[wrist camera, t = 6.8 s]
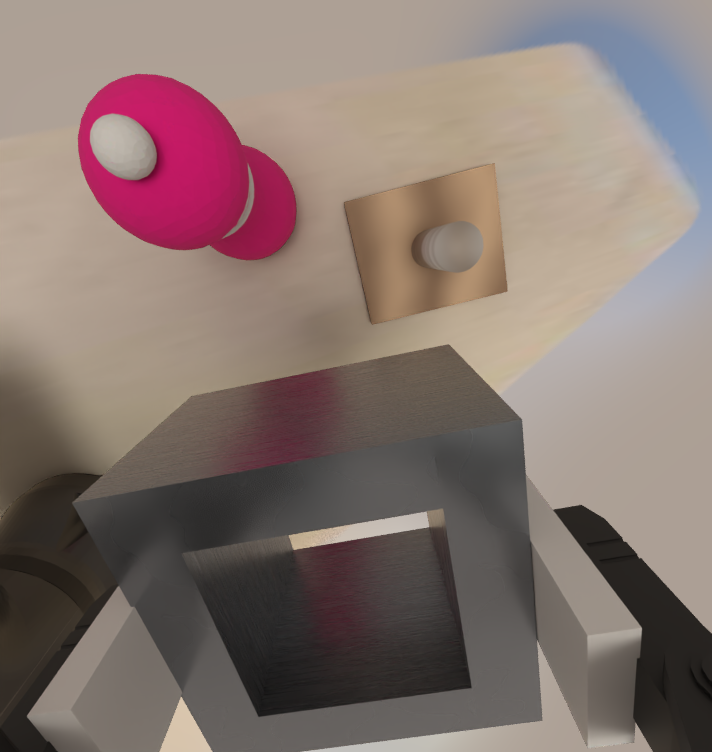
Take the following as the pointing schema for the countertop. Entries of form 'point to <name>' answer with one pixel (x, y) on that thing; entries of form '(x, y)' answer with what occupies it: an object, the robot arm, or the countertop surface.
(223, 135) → the pepper mill
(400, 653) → the grey square ring block
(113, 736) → the robot arm
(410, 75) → the countertop surface
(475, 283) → the peg on square base
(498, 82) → the countertop surface
